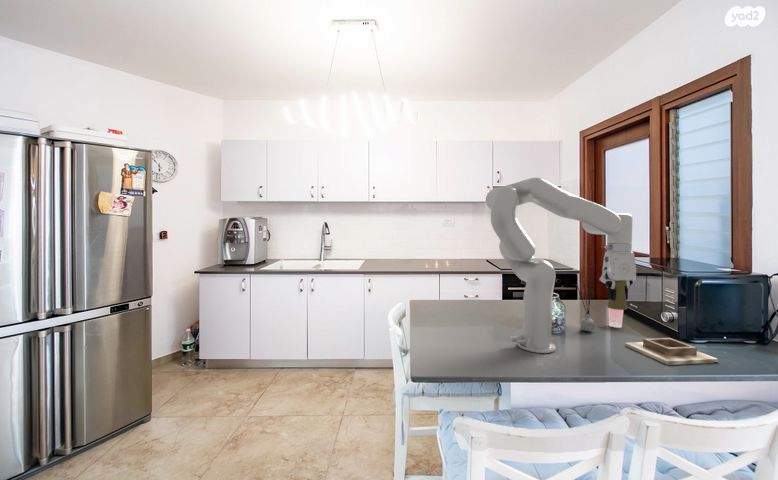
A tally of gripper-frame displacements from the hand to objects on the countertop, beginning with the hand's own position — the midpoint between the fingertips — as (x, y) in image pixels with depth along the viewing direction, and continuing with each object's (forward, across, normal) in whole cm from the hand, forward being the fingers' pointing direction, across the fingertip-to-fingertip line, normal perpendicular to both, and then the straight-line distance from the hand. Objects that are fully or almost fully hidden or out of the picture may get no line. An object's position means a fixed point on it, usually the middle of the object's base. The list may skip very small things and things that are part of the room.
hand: (617, 298), depth 135 cm
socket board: (+18, +12, -9) cm, 23 cm away
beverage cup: (+18, +19, +24) cm, 35 cm away
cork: (+3, 0, 0) cm, 3 cm away
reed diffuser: (+18, +1, +19) cm, 26 cm away
